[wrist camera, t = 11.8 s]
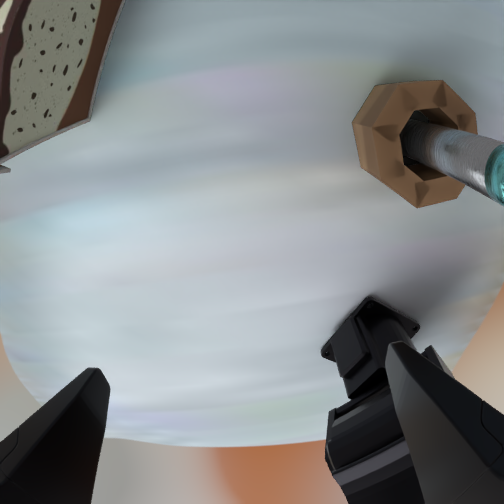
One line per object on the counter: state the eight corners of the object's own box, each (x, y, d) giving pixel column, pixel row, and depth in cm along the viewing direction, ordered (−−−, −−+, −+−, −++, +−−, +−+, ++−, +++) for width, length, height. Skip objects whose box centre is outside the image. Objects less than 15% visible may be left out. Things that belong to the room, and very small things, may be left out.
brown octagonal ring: (463, 127, 18) (494, 134, 14) (414, 206, 20) (438, 225, 17) (390, 61, 16) (415, 56, 13) (334, 149, 19) (350, 160, 16)
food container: (64, -30, 12) (-26, -69, 3) (139, -32, 13) (65, -99, 4) (19, 129, 17) (-84, 164, 8) (85, 143, 18) (-18, 185, 9)
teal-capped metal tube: (426, 133, 18) (548, 176, 8) (409, 161, 19) (522, 225, 9) (400, 111, 17) (523, 136, 8) (382, 140, 18) (494, 190, 8)
